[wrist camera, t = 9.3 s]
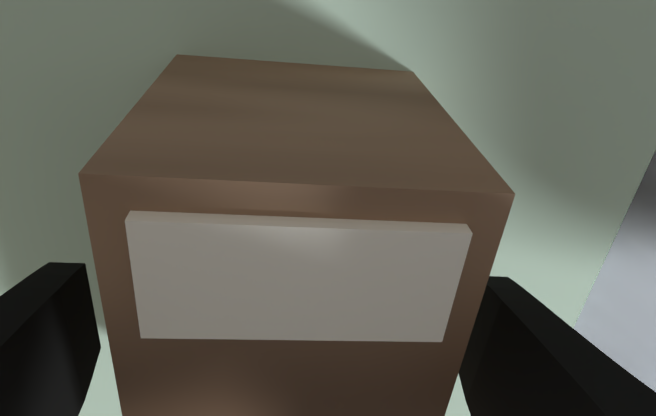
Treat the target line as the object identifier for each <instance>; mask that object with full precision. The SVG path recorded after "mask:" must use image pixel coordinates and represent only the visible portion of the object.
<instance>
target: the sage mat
mask: <svg viewBox="0 0 656 416" xmlns="http://www.w3.org/2000/svg"><path fill="white" fill-rule="evenodd" d="M177 54H179V55H193V56H207V57H220V58H234V59H248V60H261V61H275V62H289V63H302V64H316V65H330V66H343V67H357V68H370V69H384V70H398V71H411V72H414V73H415V75H416V76H417V77H418V78H419V79H420V81H421V82H422V83H423V84H424V85H425V87H426V88H427V89H428V90H429V91H430V93H431V94H432V95H433V96H434V97H435V98H436V100H437V101H438V102H439V103H440V104H441V106H442V107H443V108H444V109H445V110H446V112H447V113H448V114H449V115H450V116H451V118H452V119H453V120H454V121H455V122H456V124H457V125H458V126H459V127H460V128H461V130H462V131H463V132H464V133H465V134H466V135H467V137H468V138H469V139H470V140H471V141H472V143H473V144H474V145H475V146H476V147H477V149H478V150H479V151H480V152H481V153H482V155H483V156H484V157H485V158H486V159H487V161H488V162H489V163H490V164H491V165H492V167H493V168H494V169H495V170H496V171H497V173H498V174H499V175H500V176H501V177H502V178H503V180H504V181H505V182H506V183H507V184H508V186H509V187H510V188H511V189H512V190H513V192H514V193H515V197H514V200H513V203H512V207H511V210H510V213H509V216H508V219H507V222H506V225H505V229H504V232H503V235H502V238H501V241H500V244H499V247H498V250H497V254H496V257H495V260H494V263H493V266H492V269H491V272H490V276H501V277H509V278H510V279H512V280H513V281H515V282H516V283H517V284H519V285H520V286H521V287H523V288H524V289H525V290H526V291H528V292H529V293H530V294H531V295H533V296H534V297H535V298H536V299H538V300H539V301H540V302H541V303H543V304H544V305H545V306H546V307H547V308H549V309H550V310H551V311H552V312H554V313H555V314H556V315H557V316H558V317H560V318H561V319H562V320H563V321H564V322H566V323H567V324H568V325H569V326H571V327H572V328H574V326H575V323H576V321H577V319H578V317H579V315H580V313H581V310H582V308H583V306H584V304H585V302H586V300H587V297H588V295H589V293H590V291H591V289H592V287H593V284H594V282H595V280H596V278H597V276H598V274H599V271H600V269H601V267H602V265H603V263H604V261H605V258H606V256H607V254H608V252H609V250H610V248H611V245H612V243H613V241H614V239H615V237H616V235H617V232H618V230H619V228H620V226H621V224H622V222H623V220H624V217H625V215H626V213H627V211H628V209H629V207H630V204H631V202H632V200H633V198H634V196H635V194H636V191H637V189H638V187H639V185H640V183H641V181H642V178H643V176H644V174H645V172H646V170H647V168H648V165H649V163H650V161H651V159H652V157H653V155H654V152H655V150H656V0H0V296H1V295H2V294H4V293H5V292H7V291H8V290H9V289H11V288H12V287H13V286H15V285H16V284H18V283H19V282H20V281H22V280H23V279H25V278H26V277H28V276H29V275H30V274H32V273H33V272H35V271H36V270H38V269H39V268H41V267H42V266H44V265H45V264H47V263H48V262H63V263H85V264H86V269H87V275H88V280H89V285H90V291H91V296H92V301H93V307H94V312H95V318H96V323H97V328H98V334H99V339H100V344H101V350H100V353H99V356H98V360H97V363H96V367H95V370H94V373H93V377H92V380H91V383H90V386H89V389H88V392H87V395H86V398H85V401H84V404H83V406H82V408H81V411H80V413H79V415H78V416H122V412H121V407H120V401H119V396H118V390H117V385H116V379H115V374H114V368H113V363H112V357H111V352H110V346H109V341H108V335H107V330H106V324H105V319H104V313H103V308H102V302H101V297H100V291H99V286H98V280H97V275H96V269H95V264H94V258H93V253H92V247H91V242H90V236H89V231H88V225H87V220H86V214H85V209H84V203H83V198H82V192H81V187H80V181H79V176H78V173H79V172H80V171H81V169H82V168H83V167H84V166H85V165H86V163H87V162H88V161H89V160H90V158H91V157H92V156H93V155H94V154H95V152H96V151H97V150H98V149H99V148H100V146H101V145H102V144H103V143H104V142H105V140H106V139H107V138H108V137H109V136H110V134H111V133H112V132H113V131H114V130H115V128H116V127H117V126H118V125H119V123H120V122H121V121H122V120H123V119H124V117H125V116H126V115H127V114H128V113H129V111H130V110H131V109H132V108H133V107H134V105H135V104H136V103H137V102H138V101H139V99H140V98H141V97H142V96H143V94H144V93H145V92H146V91H147V90H148V88H149V87H150V86H151V85H152V84H153V82H154V81H155V80H156V79H157V78H158V76H159V75H160V74H161V73H162V72H163V70H164V69H165V68H166V67H167V66H168V64H169V63H170V62H171V61H172V59H173V58H174V57H175V56H176V55H177ZM445 416H471V414H470V412H469V409H468V406H467V403H466V400H465V396H464V393H463V389H462V385H461V381H460V377H459V373H458V376H457V379H456V382H455V385H454V389H453V392H452V395H451V398H450V401H449V404H448V407H447V410H446V414H445Z"/></svg>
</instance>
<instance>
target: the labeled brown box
mask: <svg viewBox="0 0 656 416" xmlns="http://www.w3.org/2000/svg"><path fill="white" fill-rule="evenodd" d="M78 176H79V181H80V187H81V192H82V198H83V203H84V209H85V214H86V220H87V225H88V231H89V236H90V242H91V247H92V253H93V258H94V264H95V269H96V275H97V280H98V286H99V291H100V297H101V302H102V308H103V313H104V319H105V324H106V330H107V335H108V341H109V346H110V352H111V357H112V363H113V368H114V374H115V379H116V385H117V390H118V396H119V401H120V407H121V412H122V416H445V414H446V410H447V407H448V404H449V401H450V398H451V395H452V392H453V389H454V385H455V382H456V379H457V376H458V373H459V370H460V367H461V363H462V360H463V357H464V354H465V351H466V348H467V345H468V341H469V338H470V335H471V332H472V329H473V326H474V323H475V319H476V316H477V313H478V310H479V307H480V304H481V301H482V298H483V294H484V291H485V288H486V285H487V282H488V279H489V276H490V272H491V269H492V266H493V263H494V260H495V257H496V254H497V250H498V247H499V244H500V241H501V238H502V235H503V232H504V229H505V225H506V222H507V219H508V216H509V213H510V210H511V207H512V203H513V200H514V197H515V193H514V192H513V190H512V189H511V188H510V187H509V186H508V184H507V183H506V182H505V181H504V180H503V178H502V177H501V176H500V175H499V174H498V173H497V171H496V170H495V169H494V168H493V167H492V165H491V164H490V163H489V162H488V161H487V159H486V158H485V157H484V156H483V155H482V153H481V152H480V151H479V150H478V149H477V147H476V146H475V145H474V144H473V143H472V141H471V140H470V139H469V138H468V137H467V135H466V134H465V133H464V132H463V131H462V130H461V128H460V127H459V126H458V125H457V124H456V122H455V121H454V120H453V119H452V118H451V116H450V115H449V114H448V113H447V112H446V110H445V109H444V108H443V107H442V106H441V104H440V103H439V102H438V101H437V100H436V98H435V97H434V96H433V95H432V94H431V93H430V91H429V90H428V89H427V88H426V87H425V85H424V84H423V83H422V82H421V81H420V79H419V78H418V77H417V76H416V75H415V73H414V72H411V71H398V70H384V69H370V68H357V67H343V66H330V65H316V64H302V63H289V62H275V61H261V60H248V59H234V58H220V57H207V56H193V55H179V54H177V55H176V56H175V57H174V58H173V59H172V61H171V62H170V63H169V64H168V66H167V67H166V68H165V69H164V70H163V72H162V73H161V74H160V75H159V76H158V78H157V79H156V80H155V81H154V82H153V84H152V85H151V86H150V87H149V88H148V90H147V91H146V92H145V93H144V94H143V96H142V97H141V98H140V99H139V101H138V102H137V103H136V104H135V105H134V107H133V108H132V109H131V110H130V111H129V113H128V114H127V115H126V116H125V117H124V119H123V120H122V121H121V122H120V123H119V125H118V126H117V127H116V128H115V130H114V131H113V132H112V133H111V134H110V136H109V137H108V138H107V139H106V140H105V142H104V143H103V144H102V145H101V146H100V148H99V149H98V150H97V151H96V152H95V154H94V155H93V156H92V157H91V158H90V160H89V161H88V162H87V163H86V165H85V166H84V167H83V168H82V169H81V171H80V172H79V173H78Z"/></svg>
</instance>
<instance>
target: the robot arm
mask: <svg viewBox="0 0 656 416" xmlns="http://www.w3.org/2000/svg"><path fill="white" fill-rule="evenodd" d="M100 350H101V344H100V339H99V334H98V328H97V323H96V318H95V312H94V307H93V301H92V296H91V291H90V285H89V280H88V275H87V269H86V264H85V263H63V262H48V263H47V264H45V265H44V266H42V267H41V268H39V269H38V270H36V271H35V272H33V273H32V274H30V275H29V276H28V277H26V278H25V279H23V280H22V281H20V282H19V283H18V284H16V285H15V286H13V287H12V288H11V289H9V290H8V291H7V292H5V293H4V294H2V295H1V296H0V416H78V415H79V413H80V411H81V408H82V406H83V404H84V401H85V398H86V395H87V392H88V389H89V386H90V383H91V380H92V377H93V373H94V370H95V367H96V363H97V360H98V356H99V353H100ZM459 377H460V381H461V385H462V389H463V393H464V396H465V400H466V403H467V406H468V409H469V412H470V414H471V416H656V392H654V391H653V390H652V389H650V388H649V387H648V386H646V385H645V384H644V383H642V382H641V381H639V380H638V379H637V378H635V377H634V376H633V375H631V374H630V373H629V372H627V371H626V370H625V369H624V368H622V367H621V366H620V365H618V364H617V363H616V362H614V361H613V360H612V359H611V358H609V357H608V356H607V355H605V354H604V353H603V352H602V351H600V350H599V349H598V348H597V347H595V346H594V345H593V344H592V343H590V342H589V341H588V340H587V339H585V338H584V337H583V336H582V335H580V334H579V333H578V332H577V331H576V330H574V329H573V328H572V327H571V326H569V325H568V324H567V323H566V322H564V321H563V320H562V319H561V318H560V317H558V316H557V315H556V314H555V313H554V312H552V311H551V310H550V309H549V308H547V307H546V306H545V305H544V304H543V303H541V302H540V301H539V300H538V299H536V298H535V297H534V296H533V295H531V294H530V293H529V292H528V291H526V290H525V289H524V288H523V287H521V286H520V285H519V284H517V283H516V282H515V281H513V280H512V279H510V278H509V277H501V276H489V279H488V282H487V285H486V288H485V291H484V294H483V298H482V301H481V304H480V307H479V310H478V313H477V316H476V319H475V323H474V326H473V329H472V332H471V335H470V338H469V341H468V345H467V348H466V351H465V354H464V357H463V360H462V363H461V367H460V370H459Z"/></svg>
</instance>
